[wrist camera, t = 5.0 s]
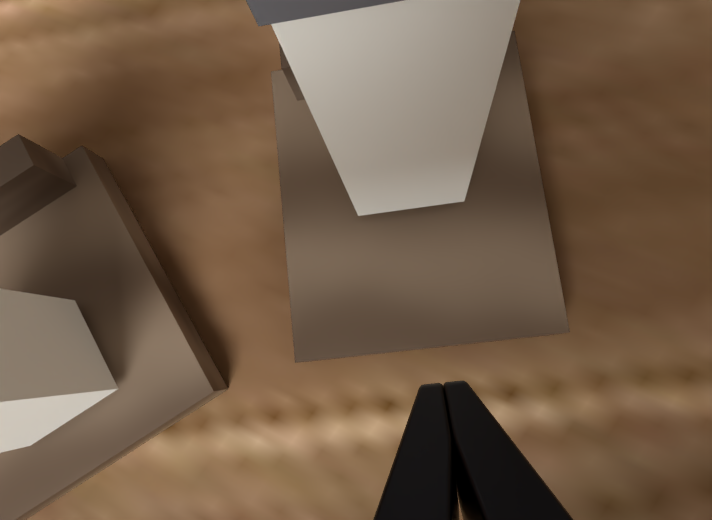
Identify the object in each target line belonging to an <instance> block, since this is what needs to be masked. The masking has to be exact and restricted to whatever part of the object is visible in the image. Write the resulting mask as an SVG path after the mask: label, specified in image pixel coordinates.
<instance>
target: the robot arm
mask: <svg viewBox="0 0 712 520" xmlns="http://www.w3.org/2000/svg"><path fill="white" fill-rule="evenodd" d="M457 492H458V494H457ZM458 498H459V503H460V508H461V512H462V516H463V520H573V518H572V517H571V516H570V515H569V513H568V512H567V511H566V509H565V508H564V507H563V506H562V504H561V503H560V502H559V500H558V499H557V498H556V497H555V495H554V494H553V493H552V491H551V490H550V489H549V487H548V486H547V485H546V484H545V482H544V481H543V480H542V478H541V477H540V476H539V475H538V473H537V472H536V471H535V469H534V468H533V467H532V466H531V464H530V463H529V462H528V460H527V459H526V458H525V457H524V455H523V454H522V453H521V451H520V450H519V449H518V448H517V446H516V445H515V444H514V442H513V441H512V440H511V438H510V437H509V436H508V435H507V433H506V432H505V431H504V429H503V428H502V427H501V426H500V424H499V423H498V422H497V420H496V419H495V418H494V417H493V415H492V414H491V413H490V411H489V410H488V409H487V408H486V406H485V405H484V404H483V402H482V401H481V400H480V399H479V397H478V396H477V395H476V393H475V392H474V391H473V389H472V388H471V387H470V386H469V384H468V383H467V382H465V381H454V382H446V383H445V384H444V385H442V384H440V383H434V384H424V385H421V386H420V388H419V390H418V393H417V396H416V399H415V402H414V404H413V407H412V410H411V413H410V416H409V419H408V422H407V425H406V427H405V430H404V433H403V436H402V439H401V442H400V445H399V448H398V450H397V453H396V456H395V459H394V462H393V465H392V468H391V471H390V473H389V476H388V479H387V482H386V485H385V488H384V491H383V494H382V496H381V499H380V502H379V505H378V508H377V511H376V514H375V517H374V519H373V520H459V504H458Z"/></svg>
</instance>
